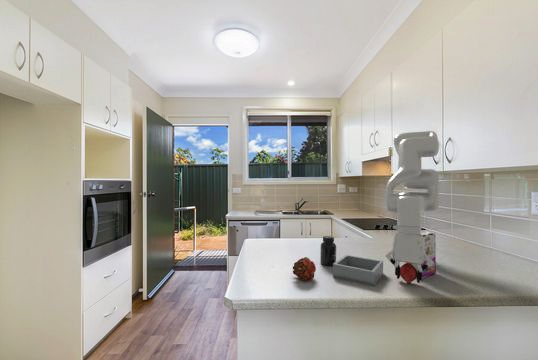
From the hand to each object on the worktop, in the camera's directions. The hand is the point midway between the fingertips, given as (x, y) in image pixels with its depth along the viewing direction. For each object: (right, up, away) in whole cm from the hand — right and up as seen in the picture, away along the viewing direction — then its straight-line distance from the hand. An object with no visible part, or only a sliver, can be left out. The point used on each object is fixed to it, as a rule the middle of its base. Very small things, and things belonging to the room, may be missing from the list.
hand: (408, 279), depth 94 cm
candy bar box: (+10, -2, +9) cm, 13 cm away
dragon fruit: (-37, -1, +4) cm, 38 cm away
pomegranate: (0, -2, 0) cm, 2 cm away
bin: (-16, -1, +7) cm, 17 cm away
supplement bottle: (-24, -1, +21) cm, 32 cm away
